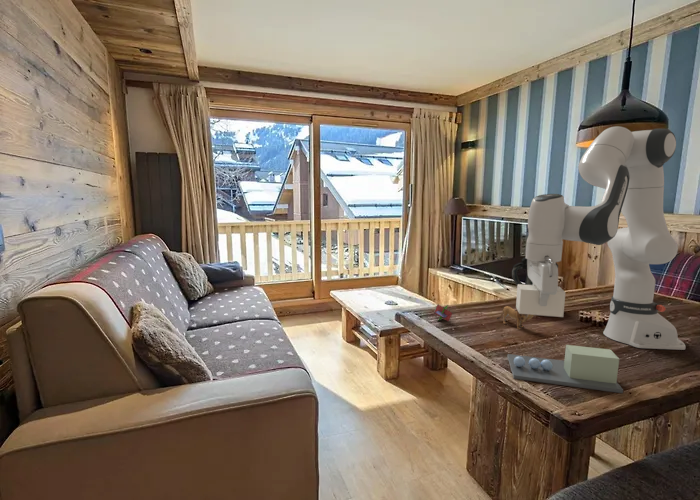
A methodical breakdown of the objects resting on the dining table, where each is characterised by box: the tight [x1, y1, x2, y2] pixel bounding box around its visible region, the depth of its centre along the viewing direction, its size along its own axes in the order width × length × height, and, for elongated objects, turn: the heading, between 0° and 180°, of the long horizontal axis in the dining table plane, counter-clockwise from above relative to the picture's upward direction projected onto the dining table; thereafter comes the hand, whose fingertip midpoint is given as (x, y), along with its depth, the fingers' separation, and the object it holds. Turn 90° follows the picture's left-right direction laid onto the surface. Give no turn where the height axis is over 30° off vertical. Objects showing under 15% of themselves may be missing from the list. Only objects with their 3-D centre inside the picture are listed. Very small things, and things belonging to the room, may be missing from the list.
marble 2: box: [529, 358, 540, 369], centre depth 105 cm, size 3×3×3 cm
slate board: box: [507, 353, 624, 394], centre depth 104 cm, size 26×14×1 cm, turn 73°
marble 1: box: [514, 356, 525, 367], centre depth 106 cm, size 3×3×3 cm
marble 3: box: [541, 360, 553, 371], centre depth 104 cm, size 3×3×3 cm
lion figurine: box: [496, 305, 534, 330], centre depth 141 cm, size 15×5×9 cm, turn 35°
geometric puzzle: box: [433, 304, 453, 323], centre depth 146 cm, size 7×7×8 cm
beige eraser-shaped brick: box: [515, 283, 566, 318], centre depth 103 cm, size 11×6×7 cm, turn 74°
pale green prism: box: [563, 344, 620, 384], centre depth 100 cm, size 11×6×7 cm, turn 73°
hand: (539, 301), depth 103 cm, fingers closed on beige eraser-shaped brick, 6 cm apart
